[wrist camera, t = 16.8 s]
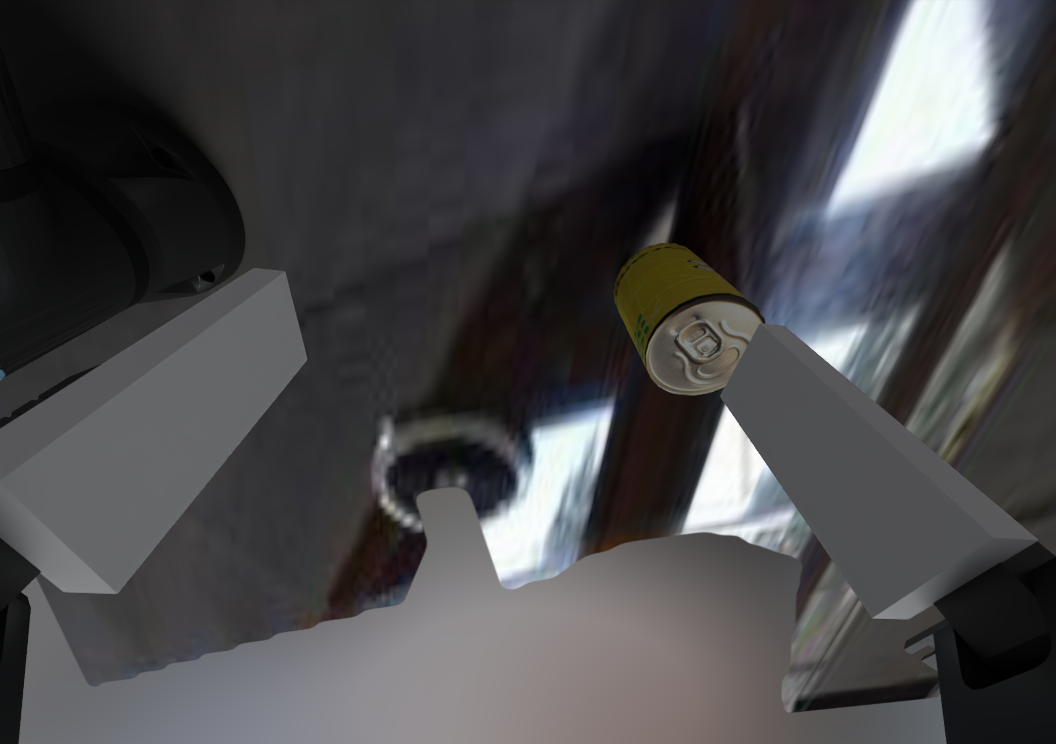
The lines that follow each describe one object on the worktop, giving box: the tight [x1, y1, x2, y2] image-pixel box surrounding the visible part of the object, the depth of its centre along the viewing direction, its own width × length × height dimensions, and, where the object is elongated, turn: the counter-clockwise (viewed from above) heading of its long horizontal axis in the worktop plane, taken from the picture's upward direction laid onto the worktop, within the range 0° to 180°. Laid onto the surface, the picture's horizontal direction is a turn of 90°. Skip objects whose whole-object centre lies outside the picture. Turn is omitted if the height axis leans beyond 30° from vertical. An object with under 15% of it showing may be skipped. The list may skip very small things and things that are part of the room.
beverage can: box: [614, 243, 765, 395], centre depth 34 cm, size 9×9×12 cm
